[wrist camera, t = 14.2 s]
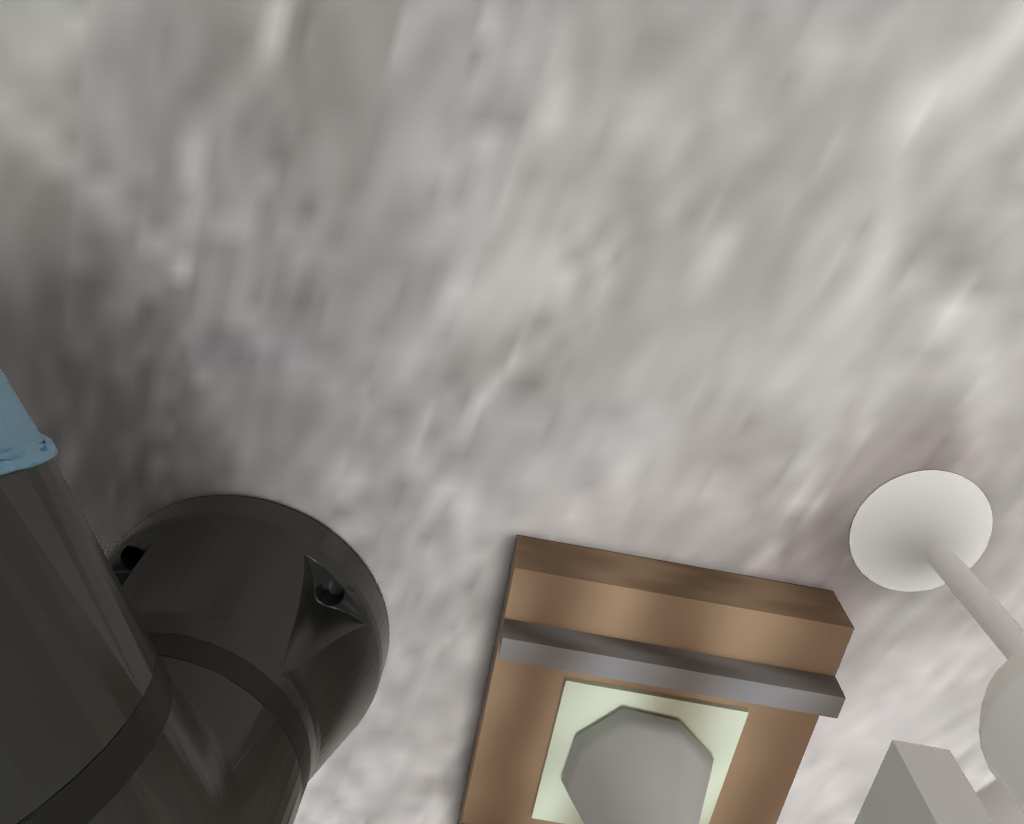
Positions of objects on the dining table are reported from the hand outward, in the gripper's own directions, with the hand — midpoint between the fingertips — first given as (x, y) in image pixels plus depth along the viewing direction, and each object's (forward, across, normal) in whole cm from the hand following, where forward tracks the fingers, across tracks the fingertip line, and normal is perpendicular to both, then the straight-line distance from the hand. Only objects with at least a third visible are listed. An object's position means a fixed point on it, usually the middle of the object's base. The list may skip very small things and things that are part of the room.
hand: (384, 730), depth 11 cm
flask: (+24, +11, -22) cm, 34 cm away
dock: (+27, +11, -22) cm, 36 cm away
